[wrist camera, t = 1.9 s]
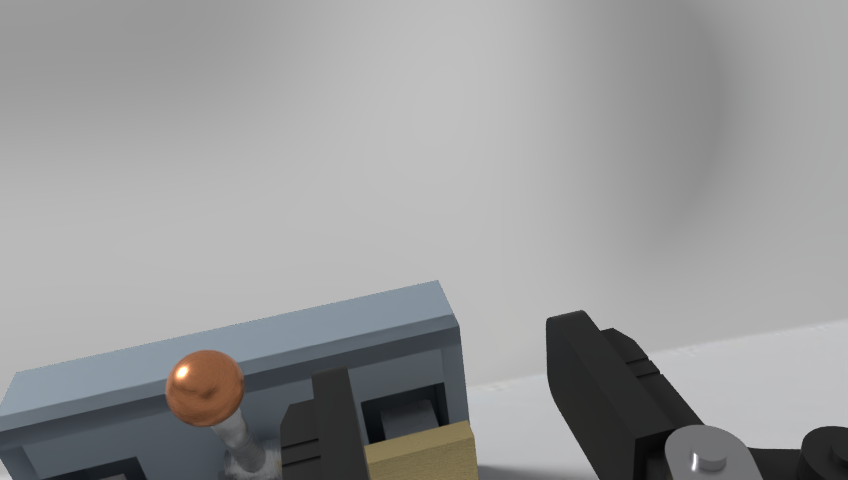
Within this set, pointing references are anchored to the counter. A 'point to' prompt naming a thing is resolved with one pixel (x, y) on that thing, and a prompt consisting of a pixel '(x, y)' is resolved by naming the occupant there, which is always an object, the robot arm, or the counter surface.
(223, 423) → the lever
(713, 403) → the counter surface
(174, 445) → the block
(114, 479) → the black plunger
